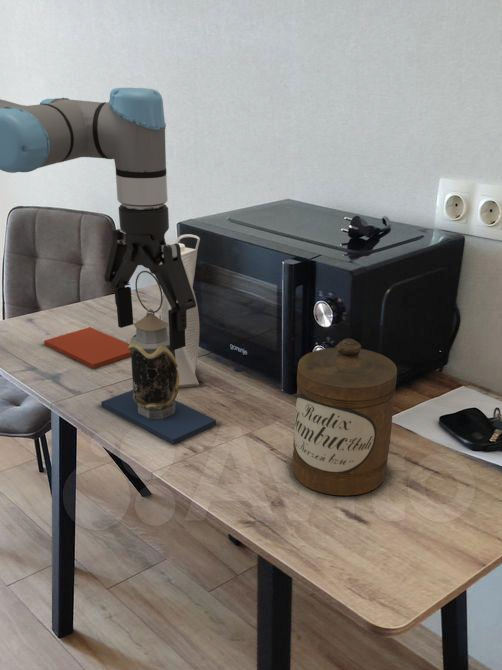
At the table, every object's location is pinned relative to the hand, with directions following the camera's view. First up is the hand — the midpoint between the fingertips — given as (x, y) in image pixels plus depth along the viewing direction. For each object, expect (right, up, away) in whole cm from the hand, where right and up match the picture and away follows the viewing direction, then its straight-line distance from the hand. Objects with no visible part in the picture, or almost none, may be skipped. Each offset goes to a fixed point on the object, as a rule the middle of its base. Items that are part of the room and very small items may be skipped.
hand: (151, 336), depth 119 cm
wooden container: (+31, -23, -6) cm, 39 cm away
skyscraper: (+3, -5, +21) cm, 21 cm away
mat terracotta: (-18, +4, +33) cm, 38 cm away
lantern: (0, -12, +8) cm, 14 cm away
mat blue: (0, -13, +8) cm, 15 cm away
